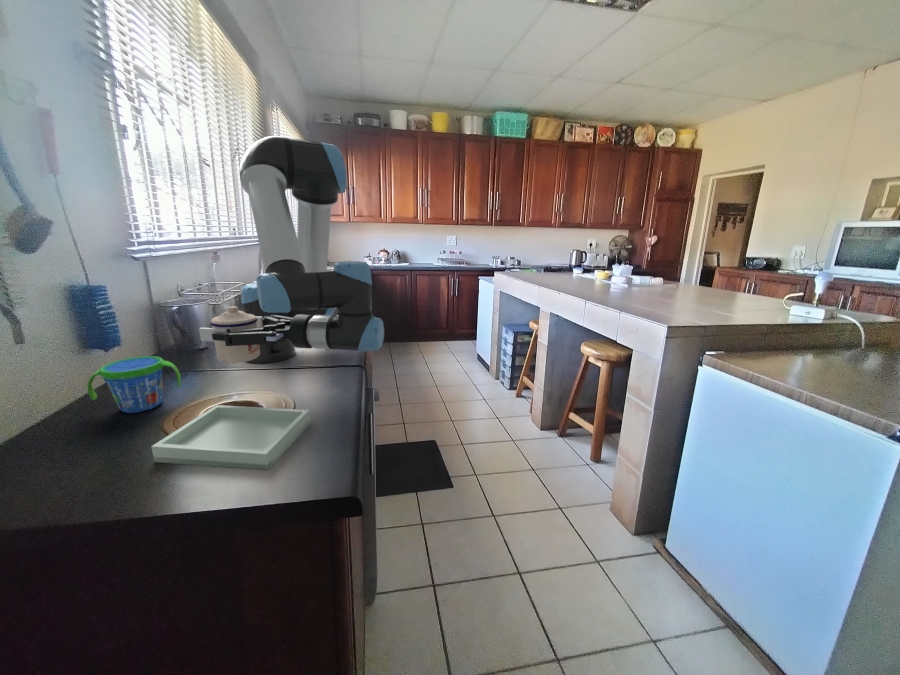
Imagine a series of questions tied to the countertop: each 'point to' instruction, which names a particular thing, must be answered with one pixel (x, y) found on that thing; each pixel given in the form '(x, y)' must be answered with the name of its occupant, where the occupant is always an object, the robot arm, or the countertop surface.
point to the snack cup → (134, 382)
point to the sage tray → (233, 437)
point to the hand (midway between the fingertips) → (220, 327)
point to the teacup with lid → (235, 322)
